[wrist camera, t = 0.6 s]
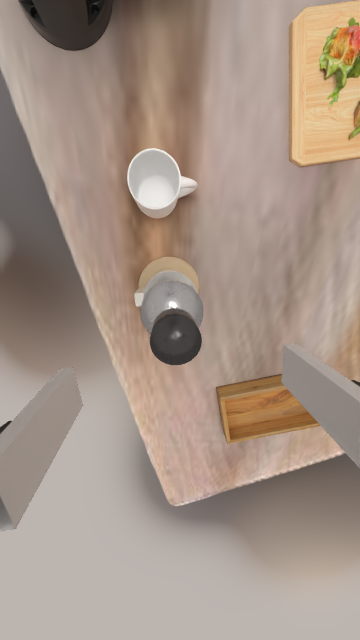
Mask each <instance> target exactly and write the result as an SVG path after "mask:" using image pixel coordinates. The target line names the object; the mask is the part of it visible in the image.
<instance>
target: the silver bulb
mask: <svg viewBox="0 0 360 640" xmlns="http://www.w3.org/2000/svg"><path fill="white" fill-rule="evenodd" d="M141 318H142V322H143V324H144V326H145V328H146V329H147V330H148V332H149V333H150V334H151V337H150V346H151V349H152V352H153V353H154V355H155V356H156V357H157V358H158V359H159V360H160V361H162V362H164V363H166V364H170V365H181V364H185V363H187V362H189V361H191V360H192V359H193V358H194V357H195V356H196V355H197V354H198V352H199V350H200V348H201V343H202V338H201V334H200V331H199V329H198V328H199V326H200V324H201V322H202V318H203V304H202V301H201V298H200V297H199V295H198V294H197V292H196V291H195V290H194V289H193V288H192V287H191V286H189V285H188V284H186V283H183V282H180V281H175V280H169V281H164V282H161V283H158V284H156V285H155V286H153V287H152V288H151V289H150V290H149V291H148V292H147V294H146V295H145V297H144V299H143V302H142V305H141Z"/></svg>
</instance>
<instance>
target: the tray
mask: <svg viewBox="0 0 360 640" xmlns="http://www.w3.org/2000/svg"><path fill="white" fill-rule="evenodd" d="M281 380H282V374H281V375H276V376H271V377H266V378H261V379H256V380H250V381H245V382H240V383H235V384H230V385H225V386H219V387H216V389H217V395H218V402H219V408H220V414H221V420H222V426H223V431H224V435H225V438H226V441H227V444H230V443H235V442H240V441H245V440H250V439H255V438H260V437H265V436H270V435H275V434H281V433H286V432H291V431H296V430H301V429H306V428H311V427H316V426H321V425H320V424H319V423H318V422H317V421H316V420H315V419H314V417H313V416H312V415H311V414H310V413H309V412H308V411H307V410H306V409H305V408H304V407H303V405H302V404H301V403H300V402H299V401H298V400H297V399H296V398H295V397H294V396H293V394H292V393H291V392H290V391H289V390H288V389H287V388H286V387H285V386H284V385H283V384H282V382H281Z"/></svg>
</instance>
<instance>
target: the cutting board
mask: <svg viewBox="0 0 360 640" xmlns="http://www.w3.org/2000/svg"><path fill="white" fill-rule="evenodd" d="M357 158H360V0H359V1H352V2H345V3H337V4H330V5H322V6H315V7H307V8H305V9H304V10H303V11H302V12H301V13H300V14H299V15H298V16H297V17H296V18H295V19H294V20H293V21H292V23H291V25H290V27H289V161H291V162H293V163H294V164H296V165H297V166H299V167H304V166H310V165H317V164H324V163H330V162H337V161H344V160H350V159H357Z"/></svg>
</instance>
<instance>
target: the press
mask: <svg viewBox="0 0 360 640" xmlns="http://www.w3.org/2000/svg"><path fill="white" fill-rule="evenodd" d="M169 280H175V281H180V282H183V283H186V284H188V285H189V286H191V287H192V288H193V289H194V290H195V291H196V292H197V294H198V295H199V290H200V285H199V279H198V276H197V274H196V272H195V270H194V269H193V268H192V267H191V266H190V265H189V264H188V263H187V262H185V261H184V260H182V259H179V258H176V257H162V258H158V259H156V260H154V261H152V262H151V263H150V264H148V265H147V266H146V268H145V269H144V270H143V272H142V274H141V276H140V279H139V286H138V289H137V291H136V292H135V293H134V297H135V303H136V306H141V305H142V302H143V299H144V297H145V295H146V294H147V292H148V291H149V290H150V289H151V288H152V287H153V286H155V285H156V284H158V283H161V282H164V281H169Z"/></svg>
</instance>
